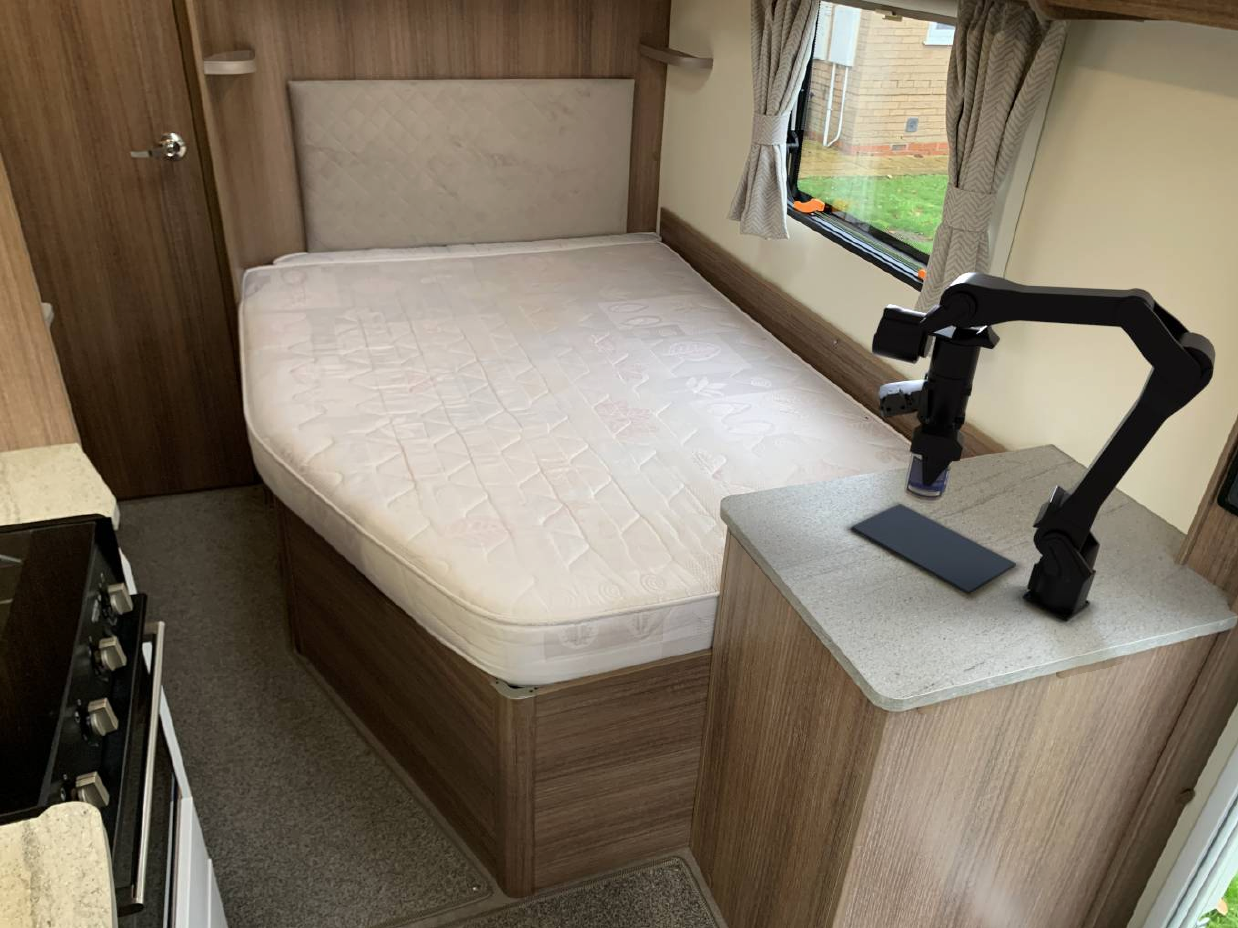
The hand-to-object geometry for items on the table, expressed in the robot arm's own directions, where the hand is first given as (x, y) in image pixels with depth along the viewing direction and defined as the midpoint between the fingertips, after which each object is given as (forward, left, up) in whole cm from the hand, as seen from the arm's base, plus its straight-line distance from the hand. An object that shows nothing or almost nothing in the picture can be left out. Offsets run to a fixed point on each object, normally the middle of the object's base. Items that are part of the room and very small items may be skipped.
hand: (927, 476), depth 131 cm
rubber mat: (-1, -4, -13) cm, 13 cm away
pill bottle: (0, 0, -3) cm, 3 cm away
